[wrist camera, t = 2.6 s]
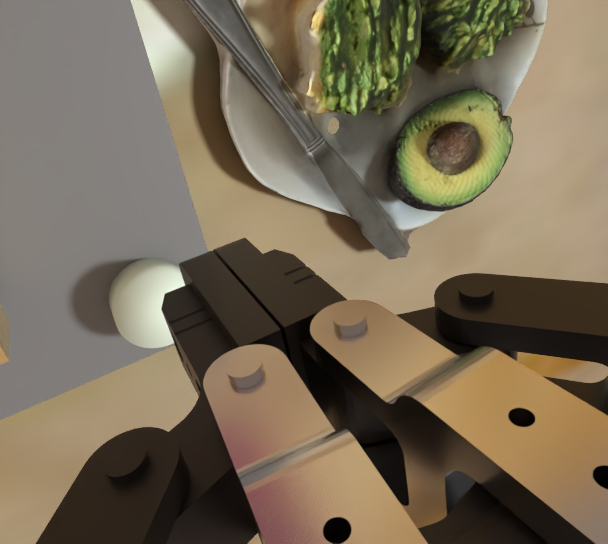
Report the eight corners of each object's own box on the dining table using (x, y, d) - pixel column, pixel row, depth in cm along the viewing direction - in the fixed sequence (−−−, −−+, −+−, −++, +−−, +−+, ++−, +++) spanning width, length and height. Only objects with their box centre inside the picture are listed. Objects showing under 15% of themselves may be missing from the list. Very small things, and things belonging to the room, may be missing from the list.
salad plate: (102, 160, 23) (120, 190, 19) (256, -314, 19) (317, -391, 15) (413, 261, 34) (464, 292, 30) (554, -29, 30) (632, -33, 26)
